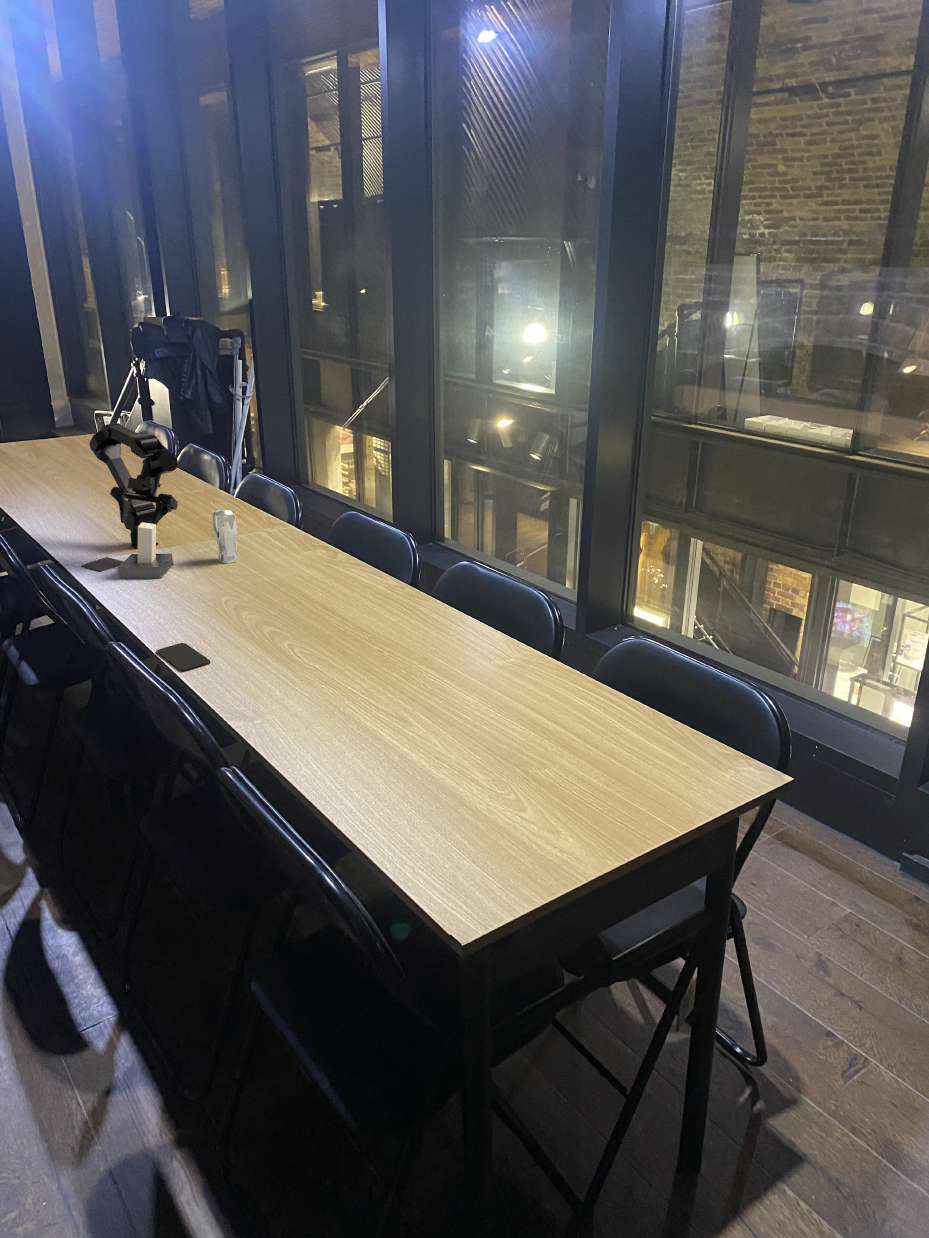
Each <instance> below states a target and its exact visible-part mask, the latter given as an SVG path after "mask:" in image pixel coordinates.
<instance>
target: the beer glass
mask: <svg viewBox="0 0 929 1238" xmlns="http://www.w3.org/2000/svg"><path fill="white" fill-rule="evenodd" d="M211 517H212V531H213V534H214V538H215V541H216V545H217V549H218V557H217V559H218V562H219V563H222V564H234V563H236V562H238V561H239V559H240V557H239V554H238V550H237V541H238V539H237V538H238V527H237V525H238V523H237V518H236V513H235V511H234V510H232V509H220V510H219V509H218V510H215V511H213V512H211Z"/></svg>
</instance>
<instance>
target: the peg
mask: <svg viewBox="0 0 929 1238" xmlns="http://www.w3.org/2000/svg"><path fill="white" fill-rule="evenodd" d="M156 542H157V525H156V524H150V523H143V522H142V523H141V524H140V525H139V526H138V548H137V554H138V563H152V562H153V561H154V560H155V559H156V554H157V553H156V552H157V549H156V548H157V545H156Z"/></svg>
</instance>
